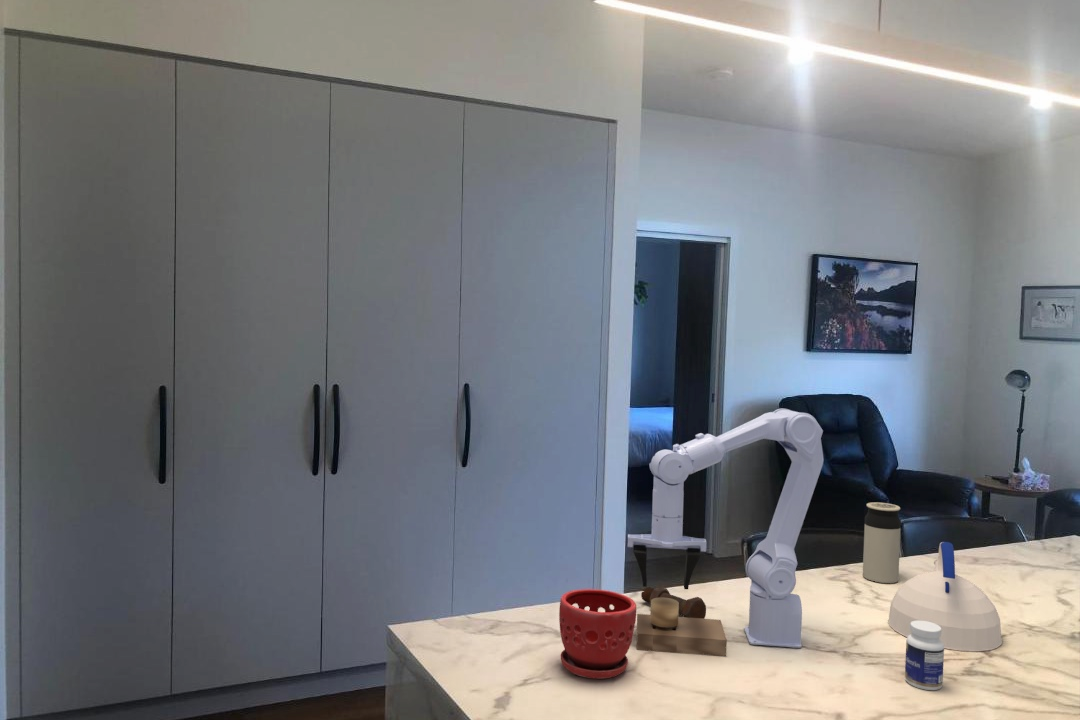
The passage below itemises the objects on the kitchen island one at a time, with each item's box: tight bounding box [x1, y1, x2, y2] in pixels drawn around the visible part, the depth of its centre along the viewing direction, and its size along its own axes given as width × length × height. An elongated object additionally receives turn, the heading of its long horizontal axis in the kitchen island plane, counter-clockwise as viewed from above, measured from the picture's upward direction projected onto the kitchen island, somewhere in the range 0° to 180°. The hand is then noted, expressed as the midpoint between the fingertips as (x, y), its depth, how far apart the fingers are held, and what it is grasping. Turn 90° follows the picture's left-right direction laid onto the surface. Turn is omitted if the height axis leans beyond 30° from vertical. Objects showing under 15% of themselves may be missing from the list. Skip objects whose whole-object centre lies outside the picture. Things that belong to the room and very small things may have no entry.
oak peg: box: [649, 597, 680, 630], centre depth 144 cm, size 5×5×8 cm
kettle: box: [887, 541, 1003, 653], centre depth 153 cm, size 20×21×18 cm
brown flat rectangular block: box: [636, 613, 727, 657], centre depth 144 cm, size 16×10×3 cm, turn 83°
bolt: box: [640, 586, 707, 619], centre depth 159 cm, size 6×5×15 cm
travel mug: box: [862, 501, 902, 584], centre depth 186 cm, size 8×8×18 cm
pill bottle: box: [904, 621, 945, 691], centre depth 129 cm, size 6×6×10 cm
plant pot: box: [558, 588, 637, 680], centre depth 131 cm, size 13×13×12 cm
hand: (665, 586), depth 144 cm, fingers open, 7 cm apart
